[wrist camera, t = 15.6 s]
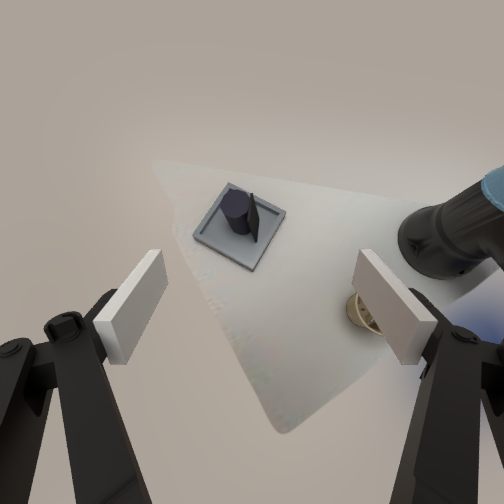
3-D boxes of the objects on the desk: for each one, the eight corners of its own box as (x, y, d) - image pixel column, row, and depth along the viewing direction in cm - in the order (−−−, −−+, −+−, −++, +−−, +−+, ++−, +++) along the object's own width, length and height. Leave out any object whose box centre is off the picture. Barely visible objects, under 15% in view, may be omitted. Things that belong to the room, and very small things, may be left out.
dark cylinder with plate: (269, 219, 52) (266, 194, 42) (257, 243, 50) (251, 223, 41) (237, 206, 53) (227, 179, 43) (224, 229, 52) (211, 206, 42)
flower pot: (345, 278, 49) (364, 268, 41) (391, 296, 48) (420, 289, 40) (331, 323, 47) (348, 322, 39) (380, 343, 46) (408, 346, 37)
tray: (284, 216, 53) (286, 211, 51) (252, 271, 50) (252, 268, 47) (229, 188, 55) (228, 182, 53) (194, 239, 52) (192, 235, 49)
